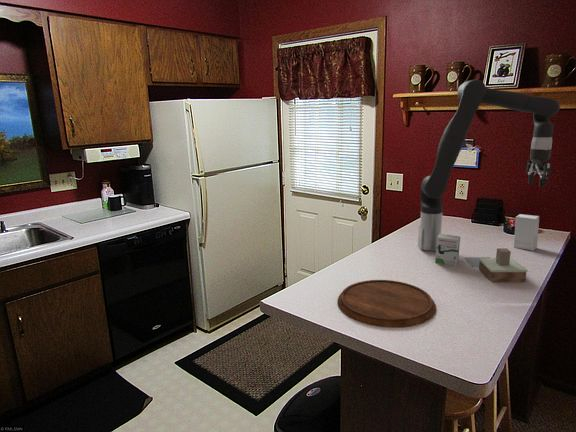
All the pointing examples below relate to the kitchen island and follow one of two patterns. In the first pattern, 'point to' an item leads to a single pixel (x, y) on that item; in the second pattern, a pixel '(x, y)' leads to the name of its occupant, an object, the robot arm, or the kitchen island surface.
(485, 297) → the kitchen island surface
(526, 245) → the skincare box
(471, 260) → the felt mat
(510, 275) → the box
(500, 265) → the lid
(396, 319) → the cutting board
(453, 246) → the ink box
